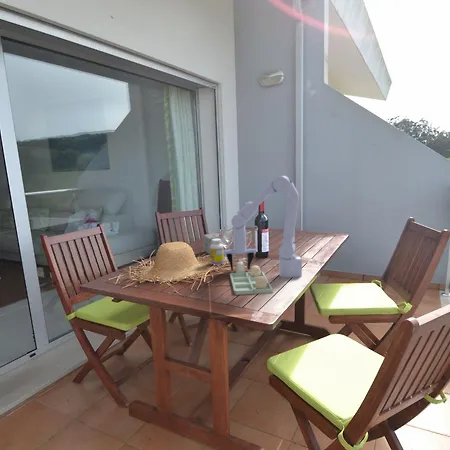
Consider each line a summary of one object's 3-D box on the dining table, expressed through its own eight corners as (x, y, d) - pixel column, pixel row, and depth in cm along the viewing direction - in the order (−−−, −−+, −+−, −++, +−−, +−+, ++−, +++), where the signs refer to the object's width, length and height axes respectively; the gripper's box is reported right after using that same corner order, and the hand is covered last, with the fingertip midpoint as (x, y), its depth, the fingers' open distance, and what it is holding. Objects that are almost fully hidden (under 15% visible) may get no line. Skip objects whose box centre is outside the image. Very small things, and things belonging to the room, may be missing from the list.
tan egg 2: (265, 287, 131) (265, 274, 130) (267, 291, 126) (267, 277, 125) (254, 287, 131) (254, 274, 130) (256, 291, 126) (256, 278, 125)
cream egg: (244, 271, 154) (244, 260, 153) (245, 274, 149) (245, 263, 148) (235, 271, 153) (235, 260, 152) (236, 274, 149) (235, 263, 148)
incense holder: (209, 255, 184) (208, 236, 182) (203, 251, 191) (202, 234, 189) (224, 252, 189) (224, 234, 187) (217, 249, 196) (217, 232, 194)
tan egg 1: (259, 275, 145) (259, 263, 144) (261, 279, 140) (261, 266, 139) (249, 276, 144) (249, 264, 143) (251, 279, 140) (251, 267, 139)
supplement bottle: (209, 263, 168) (208, 238, 166) (221, 261, 171) (220, 237, 168) (213, 266, 162) (212, 241, 160) (225, 264, 165) (224, 240, 162)
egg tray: (262, 276, 146) (262, 271, 146) (272, 294, 125) (272, 289, 125) (230, 277, 145) (229, 272, 145) (234, 296, 124) (234, 291, 124)
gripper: (254, 237, 153) (254, 265, 155) (223, 239, 152) (224, 267, 155) (256, 241, 146) (256, 270, 149) (224, 242, 145) (225, 272, 148)
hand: (240, 269), depth 151 cm, fingers open, 7 cm apart
